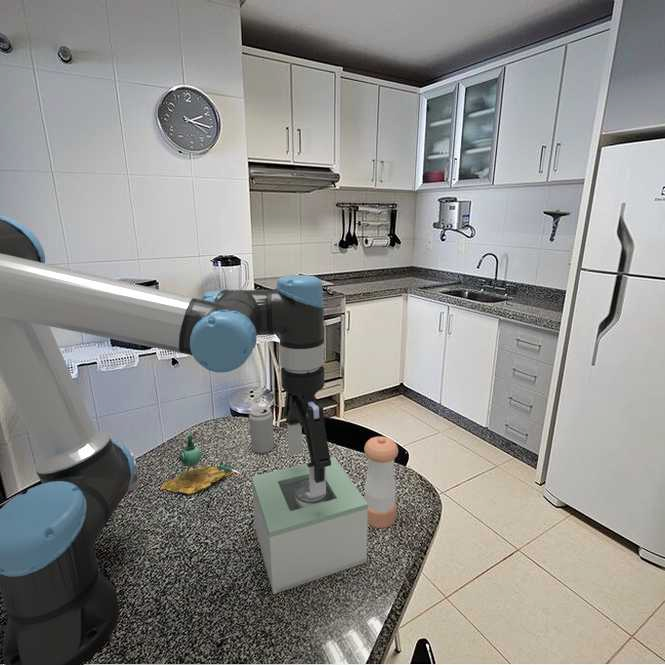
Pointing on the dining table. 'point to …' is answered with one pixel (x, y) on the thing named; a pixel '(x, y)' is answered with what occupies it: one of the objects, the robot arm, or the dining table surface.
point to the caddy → (308, 526)
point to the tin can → (306, 496)
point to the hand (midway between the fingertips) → (305, 472)
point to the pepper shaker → (380, 481)
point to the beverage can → (261, 429)
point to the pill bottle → (134, 477)
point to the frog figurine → (195, 472)
